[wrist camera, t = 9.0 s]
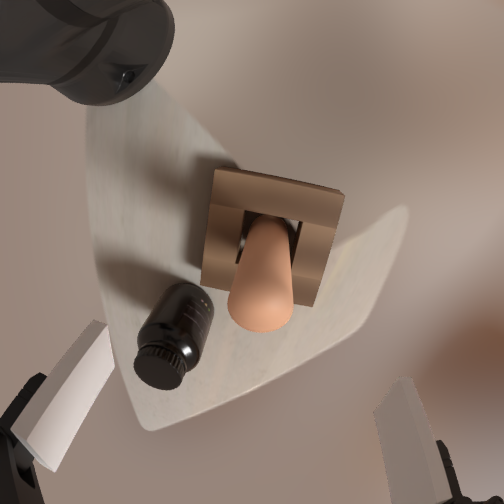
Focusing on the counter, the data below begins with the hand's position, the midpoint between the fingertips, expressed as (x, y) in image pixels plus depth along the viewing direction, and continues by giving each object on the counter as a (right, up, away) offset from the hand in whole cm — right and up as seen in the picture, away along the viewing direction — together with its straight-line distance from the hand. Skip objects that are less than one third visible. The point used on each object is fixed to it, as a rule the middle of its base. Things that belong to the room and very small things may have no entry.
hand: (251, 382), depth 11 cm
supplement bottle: (-8, -1, +23) cm, 25 cm away
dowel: (+2, +8, +19) cm, 20 cm away
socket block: (+2, +7, +19) cm, 20 cm away
